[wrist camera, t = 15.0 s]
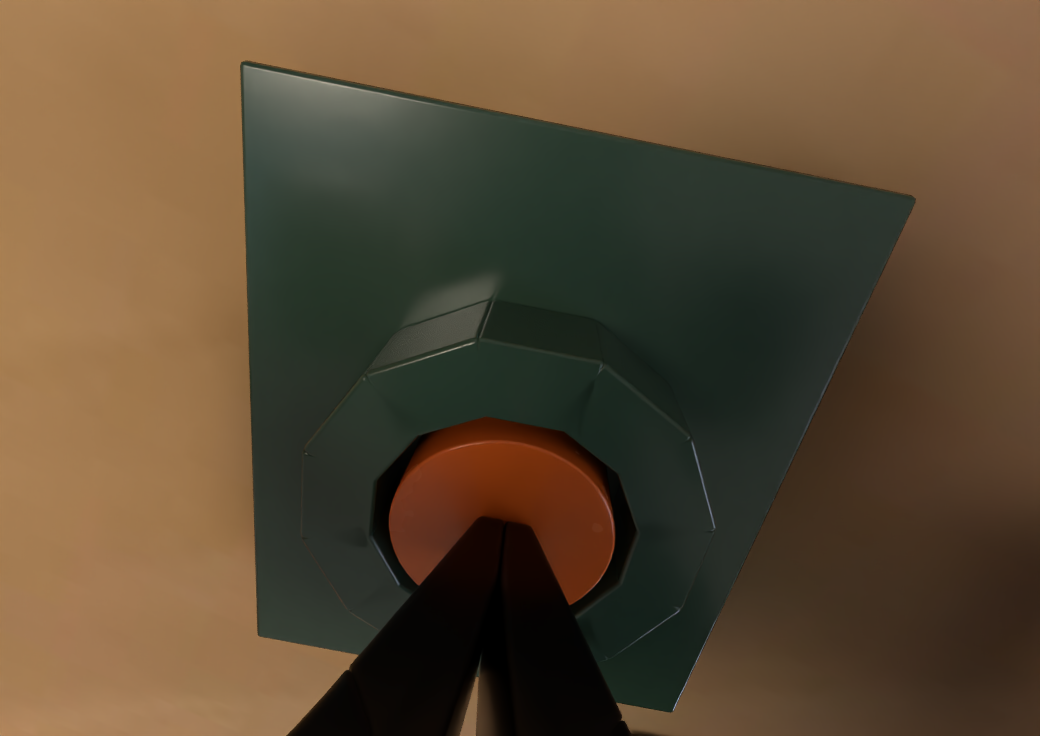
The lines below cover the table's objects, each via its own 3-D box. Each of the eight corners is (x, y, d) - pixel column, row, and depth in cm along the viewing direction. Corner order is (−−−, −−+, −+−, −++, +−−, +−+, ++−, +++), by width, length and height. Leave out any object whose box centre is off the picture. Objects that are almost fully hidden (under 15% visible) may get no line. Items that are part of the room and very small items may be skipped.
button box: (661, 651, 14) (690, 801, 11) (288, 581, 14) (211, 713, 11) (861, 185, 9) (1016, 217, 6) (291, 69, 9) (150, 41, 6)
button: (581, 563, 11) (586, 637, 9) (405, 529, 11) (379, 599, 9) (629, 409, 9) (643, 467, 8) (425, 369, 9) (398, 420, 8)
